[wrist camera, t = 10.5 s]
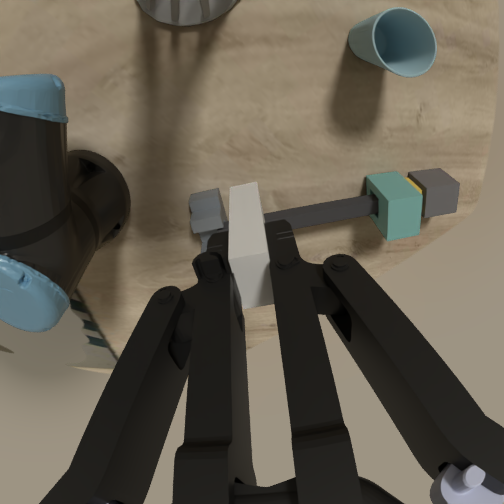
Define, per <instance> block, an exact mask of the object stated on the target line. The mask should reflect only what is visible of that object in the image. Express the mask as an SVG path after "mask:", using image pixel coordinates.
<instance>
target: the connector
mask: <svg viewBox="0 0 504 504" xmlns="http://www.w3.org/2000/svg"><path fill="white" fill-rule="evenodd" d="M409 179H410V180H411V181H413V182H414V183H415V184H416V185H417V186H418V187H419V188H420V189H421V190H422V195H423V199H422V211H421V215H422V216H423V217H424V218H428V217H434V216H439V215H444V214H449V213H455V212H456V210H457V203H458V195H459V186H460V183H459V182H457V181H456V180H455V179H454V178H452V177H451V176H450V175H449V174H447V173H446V172H445V171H443V170H442V169H441V168H437V169H429V170H421V171H413V172H409Z"/></svg>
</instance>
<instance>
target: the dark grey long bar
mask: <svg viewBox="0 0 504 504" xmlns="http://www.w3.org/2000/svg"><path fill="white" fill-rule="evenodd" d="M405 179H406V180H407V181H408V182H409V183H410V184H411V185H412V186H413V187H414V188H416V189H417V190H418V191H419V192H420V193H421V194H422V190H421V189H420V188H419V187H418V186H417V185H416V184H415V183H414V182H413V181H411V180H410V179H409V178H408V177H407V178H405ZM378 213H379V199H378V198H377V196H376V195H375V194H371V195H365V196H359V197H354V198H348V199H342V200H336V201H331V202H325V203H319V204H314V205H308V206H303V207H298V208H292V209H287V210H282V211H276V212H271V213H266V214H264V219H265V223H267V222H272V221H277V220H283V219H285V220H286V221H287V222H289V223H290V224H291V227H292V229H297V228H302V227H308V226H313V225H318V224H324V223H329V222H334V221H340V220H345V219H351V218H356V217H361V216H367V215H372V214H378ZM217 231H218V233H219V232H224V231H229V221H226V222H224V227H223V228H219V229H217Z"/></svg>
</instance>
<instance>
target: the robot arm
mask: <svg viewBox="0 0 504 504" xmlns="http://www.w3.org/2000/svg"><path fill="white" fill-rule="evenodd" d="M67 123H68V117H67V116H66V107H65V87H64V84H63V82H62V80H61V79H60V78H59V77H57V76H56V75H53V74H28V75H14V76H2V77H0V319H1V320H2V321H4V322H5V323H7V324H9V325H11V326H13V327H16V328H18V329H21V330H24V331H30V332H44V331H47V330H50V329H51V328H52V327H54V326H55V325H56V324H57V323H58V322H59V320H60V318H61V317H62V315H63V313H64V312H65V311H66V309H67V308H68V307H69V304H70V303H69V302H70V299H71V297H72V295H73V293H74V291H75V289H76V287H77V285H78V283H79V281H80V279H81V277H82V275H83V273H84V271H85V269H86V268H87V266H88V264H89V262H90V260H91V258H92V256H93V254H94V253H95V251H97V250H98V249H100V248H101V247H103V246H104V245H106V244H107V243H109V242H110V241H111V240H113V239H114V238H115V237H116V236H117V235H118V233H119V232H120V231H121V229H122V227H123V225H124V224H125V222H126V220H127V217H128V214H129V210H130V195H129V190H128V187H127V184H126V182H125V180H124V178H123V176H122V174H121V173H120V171H119V170H118V169H117V168H116V167H115V166H114V165H113V164H112V163H111V162H110V161H109V160H108V159H106V158H105V157H103V156H101V155H99V154H97V153H94V152H91V151H86V150H74V151H70V152H67ZM192 265H193V268H194V270H195V273H196V276H197V278H198V283H197V284H196V285H194V286H193V287H191V288H189V289H186V290H184V291H180V289H179V288H177V287H175V286H167V287H163V288H161V289H159V290H158V291H156V292H155V293H154V294H153V296H152V297H151V299H150V301H149V302H148V304H147V306H146V308H145V310H144V312H143V313H142V315H141V317H140V319H139V321H138V323H137V325H136V327H135V329H134V331H133V332H132V334H131V336H130V338H129V340H128V342H127V344H126V346H125V348H124V350H123V352H122V354H121V356H120V358H119V360H118V362H117V364H116V366H115V368H114V370H113V372H112V374H111V376H110V378H109V380H108V382H107V384H106V386H105V389H104V391H103V393H102V395H101V397H100V399H99V401H98V404H97V406H96V408H95V410H94V412H93V414H92V416H91V419H90V421H89V423H88V425H87V428H86V430H85V432H84V435H83V437H82V439H81V441H80V444H79V446H78V448H77V451H76V453H75V455H74V458H73V460H72V463H71V465H70V467H69V469H68V470H67V472H66V473H65V474H64V475H63V476H62V478H61V479H60V480H59V481H58V482H57V483H56V484H55V486H54V487H53V488H52V489H51V490H50V491H49V493H48V494H47V495H46V496H45V497H44V499H43V500H42V501H41V502H40V503H39V504H143V503H144V500H145V498H146V495H147V493H148V490H149V487H150V484H151V481H152V478H153V475H154V472H155V469H156V466H157V463H158V461H159V457H160V454H161V451H162V449H163V446H164V443H165V440H166V437H167V434H168V431H169V428H170V425H171V422H172V419H173V417H174V414H175V411H176V408H177V405H178V402H179V399H180V397H181V394H182V391H183V388H184V385H185V382H186V379H187V377H188V388H187V402H186V416H185V433H184V443H183V445H181V446H180V447H178V449H177V451H176V453H175V460H174V480H173V503H172V504H404V503H402V502H401V501H400V500H398V499H397V498H395V497H394V496H392V495H391V494H390V493H388V492H387V491H385V490H384V489H382V488H381V487H380V486H378V485H377V484H375V483H373V482H372V481H370V480H368V479H365V478H362V477H359V476H358V473H357V468H356V463H355V458H354V453H353V449H352V444H351V440H350V436H349V432H348V429H347V427H346V426H345V424H344V421H343V417H342V413H341V408H340V403H339V399H338V395H337V391H336V386H335V382H334V378H333V374H332V370H331V365H330V362H329V357H328V353H327V349H326V345H325V341H324V337H323V333H322V329H321V326H320V322H319V318H318V314H322V315H326V317H327V319H328V320H329V322H330V323H331V325H332V326H333V328H334V329H335V331H336V333H337V334H338V336H339V337H340V339H341V340H342V342H343V343H344V345H345V346H346V348H347V350H348V351H349V352H350V354H351V356H352V357H353V359H354V360H355V362H356V363H357V365H358V367H359V368H360V370H361V371H362V373H363V375H364V376H365V378H366V379H367V381H368V382H369V384H370V385H371V387H372V389H373V390H374V392H375V393H376V395H377V397H378V398H379V400H380V401H381V403H382V404H383V406H384V408H385V409H386V411H387V413H388V414H389V416H390V417H391V419H392V420H393V422H394V424H395V425H396V427H397V429H398V430H399V432H400V434H401V435H402V437H403V438H404V440H405V442H406V443H407V445H408V447H409V448H410V450H411V452H412V453H413V455H414V456H415V458H416V459H417V461H418V462H419V464H420V465H421V467H422V468H423V469H424V470H425V471H426V472H427V473H428V475H429V476H430V477H431V478H432V479H434V482H433V484H432V486H431V489H430V498H431V501H432V503H433V504H502V503H503V502H504V428H503V427H502V426H500V425H499V424H497V423H496V422H494V421H493V420H491V419H490V418H488V417H487V416H485V414H484V413H483V412H482V410H481V409H480V407H479V406H478V405H477V404H476V402H475V401H474V399H473V398H472V397H471V395H470V394H469V393H468V391H467V390H466V389H465V387H464V386H463V385H462V384H461V382H460V381H459V380H458V378H457V377H456V376H455V375H454V373H453V372H452V371H451V370H450V368H449V367H448V366H447V364H446V363H445V362H444V361H443V360H442V358H441V357H440V356H439V355H438V353H437V352H436V351H435V350H434V348H433V347H432V346H431V345H430V344H429V342H428V341H427V340H426V339H425V338H424V336H423V335H422V334H421V333H420V332H419V330H417V328H416V327H415V326H414V325H413V323H412V322H411V321H410V320H409V319H408V318H407V317H406V315H405V314H404V313H403V312H402V311H401V310H400V308H399V307H398V306H397V305H396V304H395V303H394V302H393V300H392V299H391V298H390V297H389V296H388V295H387V294H386V293H385V292H384V290H383V289H382V288H381V287H380V286H379V285H378V284H377V283H376V281H375V280H374V279H373V278H372V277H371V276H370V275H369V274H368V273H367V272H366V270H365V269H364V268H363V267H362V266H361V265H360V264H359V263H358V262H357V261H356V260H355V259H354V258H353V257H351V256H349V255H345V254H336V255H332V256H330V257H328V258H327V259H326V260H325V261H324V262H323V264H312V263H308V262H306V261H304V260H303V259H302V258H301V257H300V255H299V251H298V248H297V244H296V241H295V238H294V234H293V231H292V227H291V224H290V223H289V222H287V221H286V220H285V219H283V220H277V221H272V222H267V223H265V219H264V214H263V210H262V205H261V200H260V195H259V190H258V185H257V182H253V183H248V184H243V185H238V186H233V187H230V202H229V231H224V232H219V233H214V234H212V235H211V237H210V238H209V239H208V241H207V250H206V252H203V253H201V254H199V255H198V256H197V257H196V258H195V259H194V260H193V262H192ZM271 304H275V311H276V319H277V326H278V333H279V340H280V348H281V355H282V362H283V370H284V377H285V385H286V393H287V401H288V408H289V416H290V424H291V432H292V450H293V458H294V466H295V475H296V477H295V478H292V479H289V480H287V481H284V482H281V483H278V484H276V485H273V486H270V487H260V486H257V485H256V484H257V483H256V477H255V473H254V469H253V463H252V449H251V432H250V415H249V397H248V379H247V361H246V341H245V321H244V316H243V313H242V306H243V309H248V308H254V307H260V306H265V305H271ZM188 374H189V375H188Z"/></svg>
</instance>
